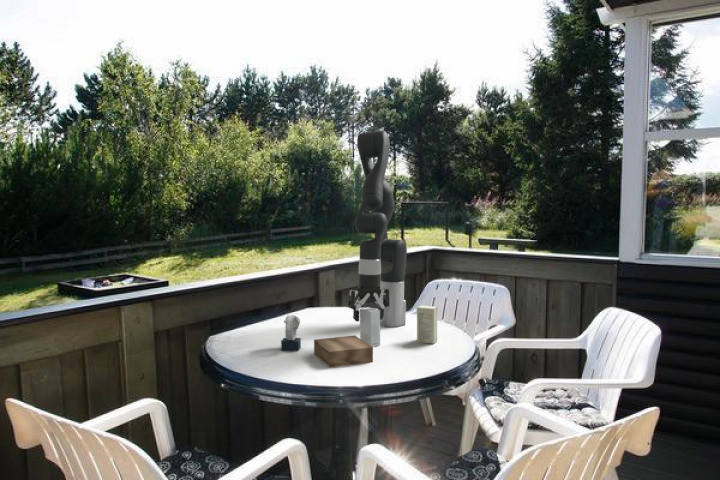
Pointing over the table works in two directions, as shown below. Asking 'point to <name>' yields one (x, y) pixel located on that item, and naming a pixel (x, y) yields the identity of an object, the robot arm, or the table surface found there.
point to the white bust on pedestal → (291, 334)
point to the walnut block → (343, 351)
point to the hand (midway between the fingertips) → (368, 320)
